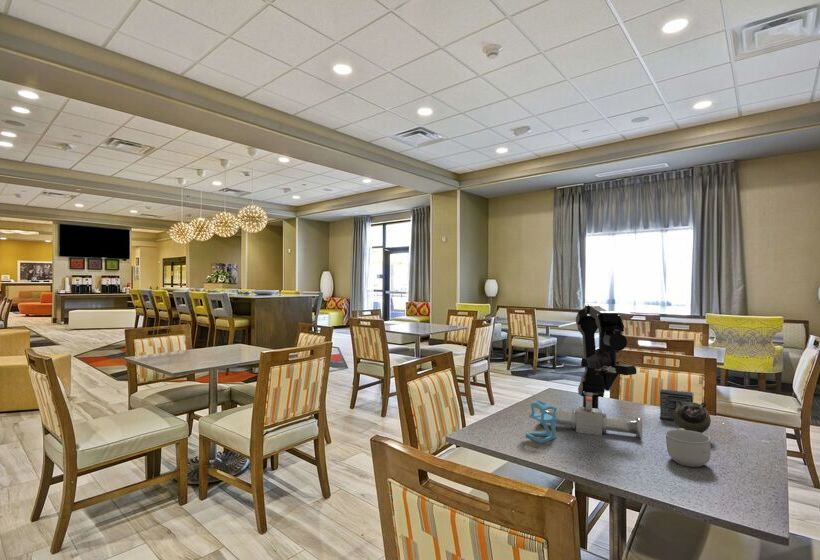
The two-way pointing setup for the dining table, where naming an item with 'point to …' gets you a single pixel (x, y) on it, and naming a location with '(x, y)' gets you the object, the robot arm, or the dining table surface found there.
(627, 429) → the valve manifold
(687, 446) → the teacup
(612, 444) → the dining table surface
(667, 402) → the small box
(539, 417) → the chair
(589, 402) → the valve lever
